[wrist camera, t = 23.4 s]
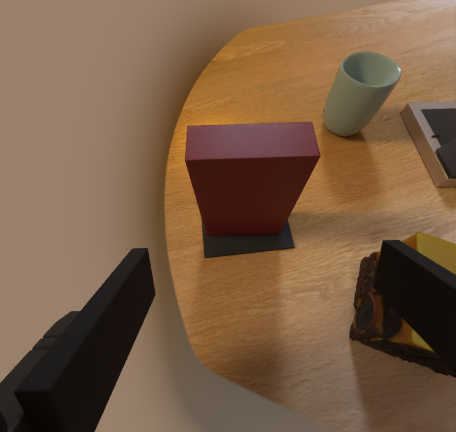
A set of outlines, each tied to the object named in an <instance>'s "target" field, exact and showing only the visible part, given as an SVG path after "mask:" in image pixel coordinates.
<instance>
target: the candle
mask: <svg viewBox="0 0 456 432" xmlns="http://www.w3.org/2000/svg"><path fill="white" fill-rule="evenodd" d="M403 243H405V244H406V245H408V246H410V247H411V248H413V249H414V250H416V251H418V252H419V253H421V254H423V255H424V256H426V257H428V258H429V259H431V260H433V261H434V262H436V263H437V264H439V265H441V266H442V267H444V268H446V269H447V270H449V271H451V272H452V273H454V274H456V244H453V243H450V242H448V241H445V240H442V239H439V238H436V237H433V236H430V235H427V234H424V233H421V232H418V233H415V234H414V235H412V236H411V237H409V238H408V239H406V240H404V241H403ZM380 252H381V251H379V252H374V253H372V254H371V255H370V256H369V257H364V258H363V259H362V260H361V265H360V271H359V277H358V281H357V286H356V293H355V302H354V307H355V308H356V314H355V317H354V321H353V323H352V325H351V329H350V338H351V339H352V340H353V341H354V340H356V341H359V342H361V343H362V344H364V345H367V346H369V347H372V348H373V349H376V350H379V351H382V352H385V353H387V354H389V355H392V356H394V357H399V358H400V359H402V360H407V361H408V362H410V363H411V362H413V363H416V364H419V365H422V366H425V367H428V368H430V369H431V370H433V371H434V372H436V373H441V374H444V375H450V376H453V377H455V378H456V374H455V373H454V372H453V371H452V370H451V369H450V368H449V366H448V365H447V364H446V363H445V362H444V361H443V360H442V359H441V358H440V357H439V356H438V355H437V354H436V353H435V352H434V351H433V350H432V349H431V348H430V347H429V346H428V345H427V344H426V342H425V341H424V340H423V339H422V338H421V337H420V336H419V335H418V334H417V333H416V332H415V331H414V330H413V329H412V328H411V327H410V326H409V325H408V324H407V323H406V322H405V321H404V320H403V319H402V317H401V316H400V315H399V314H398V313H397V312H396V311H395V310H394V309H393V308H392V307H391V306H390V305H389V304H388V303H387V302H386V301H385V300H384V299H383V298H382V297H381V296H380V295H379V294H378V292H377V291H376V290H375V289H374V288H373V284H374V280H375V275H376V270H377V266H378V261H379V256H380Z"/></svg>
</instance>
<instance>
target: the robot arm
mask: <svg viewBox="0 0 456 432" xmlns="http://www.w3.org/2000/svg"><path fill="white" fill-rule="evenodd" d="M373 288H374V289H375V290H376V291H377V292H378V294H379V295H380V296H381V297H382V298H383V299H384V300H385V301H386V302H387V303H388V304H389V305H390V306H391V307H392V308H393V309H394V310H395V311H396V312H397V313H398V314H399V315H400V316H401V317H402V319H403V320H404V321H405V322H406V323H407V324H408V325H409V326H410V327H411V328H412V329H413V330H414V331H415V332H416V333H417V334H418V335H419V336H420V337H421V338H422V339H423V340H424V341H425V342H426V344H427V345H428V346H429V347H430V348H431V349H432V350H433V351H434V352H435V353H436V354H437V355H438V356H439V357H440V358H441V359H442V360H443V361H444V362H445V363H446V364H447V365H448V366H449V368H450V369H451V370H452V371H453V372H454V373H455V374H456V274H454V273H452V272H451V271H449V270H447V269H446V268H444V267H442V266H441V265H439V264H437V263H436V262H434V261H433V260H431V259H429V258H428V257H426V256H424V255H423V254H421V253H419V252H418V251H416V250H414V249H413V248H411V247H410V246H408V245H406V244H405V243H403V242H401V241H400V240H383V242H382V247H381V252H380V256H379V261H378V266H377V270H376V275H375V280H374V284H373ZM154 297H155V288H154V283H153V276H152V270H151V264H150V258H149V253H148V248H134V249H132V250H131V251H130V252H129V253H128V254H127V256H126V257H125V258H124V259H123V260H122V262H121V263H120V264H119V265H118V267H117V268H116V269H115V270H114V271H113V272H112V274H111V275H110V276H109V277H108V278H107V280H106V281H105V282H104V283H103V284H102V286H101V287H100V288H99V290H98V291H97V292H96V293H95V294H94V295H93V296H92V298H91V299H90V300H89V301H88V303H87V304H86V305H85V306H84V307H83V309H82V310H81V311H71V312H70V313H68V314H67V315H65V316H64V317H63V318H61V319H60V320H58V321H57V322H56V323H55V324H54V325H53V326H52V327H51V328H50V329H49V330H48V331H47V332H46V334H45V335H44V336H43V339H40V340H39V341H38V342H37V344H35V346H34V347H33V349H32V350H31V351H29V352H28V353H27V354H26V356H25V357H24V358H23V359H22V360H21V361H20V362H19V363H18V364H17V365H16V366H15V367H14V369H13V370H12V371H11V372H10V373H9V374H8V375H7V376H6V378H4V380H3V381H2V382H1V383H0V432H95V430H96V427H97V425H98V423H99V420H100V418H101V416H102V414H103V412H104V409H105V407H106V405H107V402H108V400H109V398H110V396H111V394H112V391H113V389H114V387H115V385H116V382H117V380H118V378H119V376H120V373H121V371H122V368H123V367H124V364H125V362H126V360H127V357H128V355H129V353H130V351H131V349H132V346H133V344H134V342H135V339H136V337H137V335H138V333H139V330H140V328H141V326H142V324H143V322H144V319H145V317H146V315H147V313H148V310H149V308H150V306H151V304H152V301H153V299H154Z"/></svg>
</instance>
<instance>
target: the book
mask: <svg viewBox="0 0 456 432" xmlns="http://www.w3.org/2000/svg"><path fill="white" fill-rule="evenodd" d="M319 158H320V152H319V148H318V144H317V140H316V136H315V132H314V128H313V124H312V122H290V123H260V124H230V125H200V126H187V138H186V153H185V162H186V166H187V169H188V172H189V176H190V179H191V183H192V186H193V190H194V193H195V196H196V200H197V203H198V207H199V210H200V214H201V217H202V221H203V224H204V227H205V231H206V234H207V236H228V235H261V234H280V233H281V231H282V229H283V227H284V225H285V223H286V221H287V219H288V217H289V216H290V214H291V212H292V210H293V208H294V206H295V204H296V202H297V200H298V198H299V196H300V194H301V192H302V191H303V189H304V187H305V185H306V183H307V181H308V179H309V177H310V175H311V173H312V171H313V169H314V168H315V166H316V164H317V162H318V160H319Z"/></svg>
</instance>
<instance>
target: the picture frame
mask: <svg viewBox="0 0 456 432" xmlns="http://www.w3.org/2000/svg"><path fill="white" fill-rule="evenodd" d="M400 114H401V116H402V118H403V120H404V122H405V124H406V126H407V128H408V130H409V132H410V134H411V136H412V138H413V140H414V142H415V144H416V146H417V148H418V150H419V153H420V155H421V157H422V159H423V161H424V163H425V165H426V167H427V169H428V171H429V173H430V175H431V177H432V179H433V181H434V183H435V185H436V187H456V101H452V102H420V103H407V105H406V106H405V107H404V109H403V110H402V111H401V112H400Z"/></svg>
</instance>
